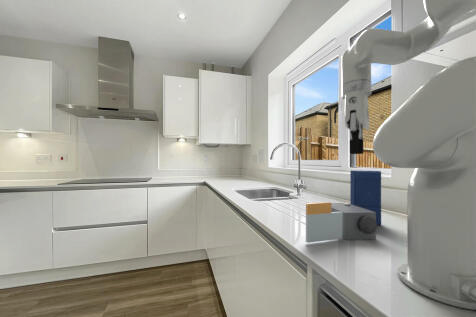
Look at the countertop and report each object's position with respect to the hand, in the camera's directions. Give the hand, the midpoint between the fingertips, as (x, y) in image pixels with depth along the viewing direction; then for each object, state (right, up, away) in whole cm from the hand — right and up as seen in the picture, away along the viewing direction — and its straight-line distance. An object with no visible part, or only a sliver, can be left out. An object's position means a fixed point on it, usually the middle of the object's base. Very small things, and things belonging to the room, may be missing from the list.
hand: (356, 153), depth 58 cm
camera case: (+2, -26, +9) cm, 28 cm away
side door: (-9, -25, 0) cm, 27 cm away
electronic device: (+14, -26, +18) cm, 35 cm away
